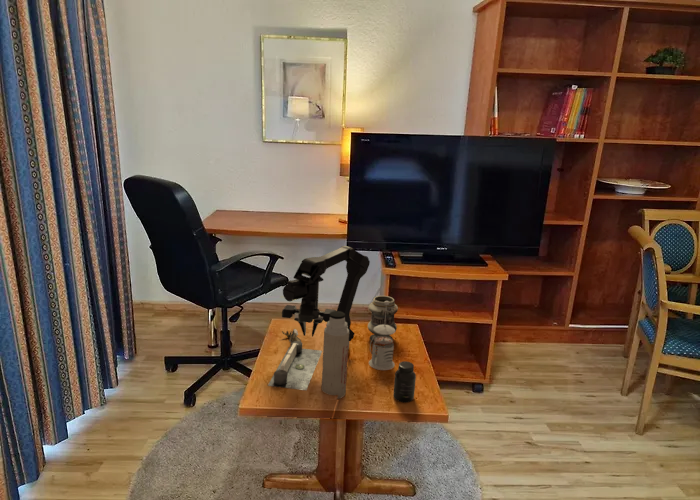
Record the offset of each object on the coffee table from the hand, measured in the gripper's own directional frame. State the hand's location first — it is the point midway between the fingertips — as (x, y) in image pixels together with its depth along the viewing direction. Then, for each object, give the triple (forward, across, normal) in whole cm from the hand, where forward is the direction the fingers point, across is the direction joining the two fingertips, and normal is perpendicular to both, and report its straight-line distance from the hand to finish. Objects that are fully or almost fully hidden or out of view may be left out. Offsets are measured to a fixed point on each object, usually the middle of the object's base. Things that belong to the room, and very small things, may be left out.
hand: (308, 335), depth 172 cm
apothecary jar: (+12, +25, +30) cm, 41 cm away
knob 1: (+10, -6, -11) cm, 16 cm away
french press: (+12, +26, +8) cm, 30 cm away
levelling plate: (+12, -3, -4) cm, 13 cm away
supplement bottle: (+12, +35, -13) cm, 39 cm away
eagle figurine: (+12, -9, +16) cm, 22 cm away
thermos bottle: (+12, +12, -16) cm, 23 cm away
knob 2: (+10, -6, +3) cm, 12 cm away
